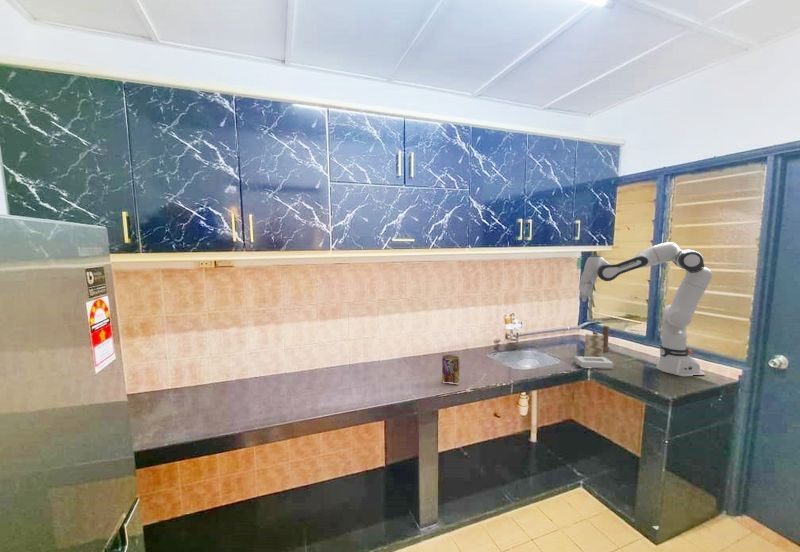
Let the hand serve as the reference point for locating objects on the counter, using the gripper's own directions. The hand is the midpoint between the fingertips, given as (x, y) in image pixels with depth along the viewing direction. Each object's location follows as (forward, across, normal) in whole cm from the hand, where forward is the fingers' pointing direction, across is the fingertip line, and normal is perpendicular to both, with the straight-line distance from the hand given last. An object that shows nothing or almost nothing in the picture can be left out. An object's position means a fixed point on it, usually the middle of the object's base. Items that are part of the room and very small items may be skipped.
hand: (582, 299), depth 220 cm
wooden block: (+35, +10, -23) cm, 43 cm away
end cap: (+35, -20, -12) cm, 42 cm away
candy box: (+49, -72, +66) cm, 109 cm away
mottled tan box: (+35, -6, -16) cm, 39 cm away
